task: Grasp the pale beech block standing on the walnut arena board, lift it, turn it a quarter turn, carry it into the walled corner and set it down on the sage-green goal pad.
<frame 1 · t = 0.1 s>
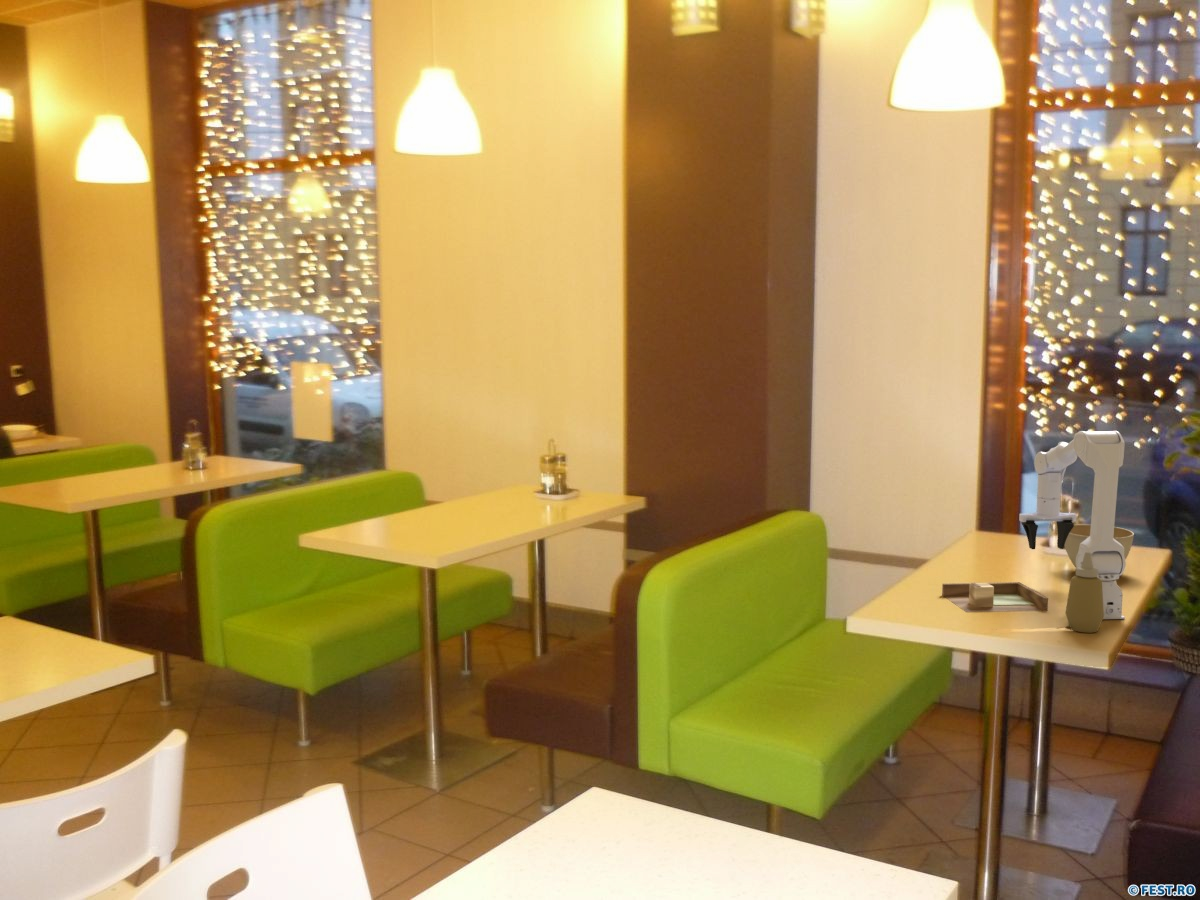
hand: (1046, 548, 298), 10 cm above the table, tool pointing down, fingers open, 7 cm apart
beige bowl: (1095, 574, 313), on the table
block: (980, 604, 277), point 1 cm above the table, touching arena
arena: (993, 605, 279), on the table
squeeze bottle: (1083, 630, 258), on the table
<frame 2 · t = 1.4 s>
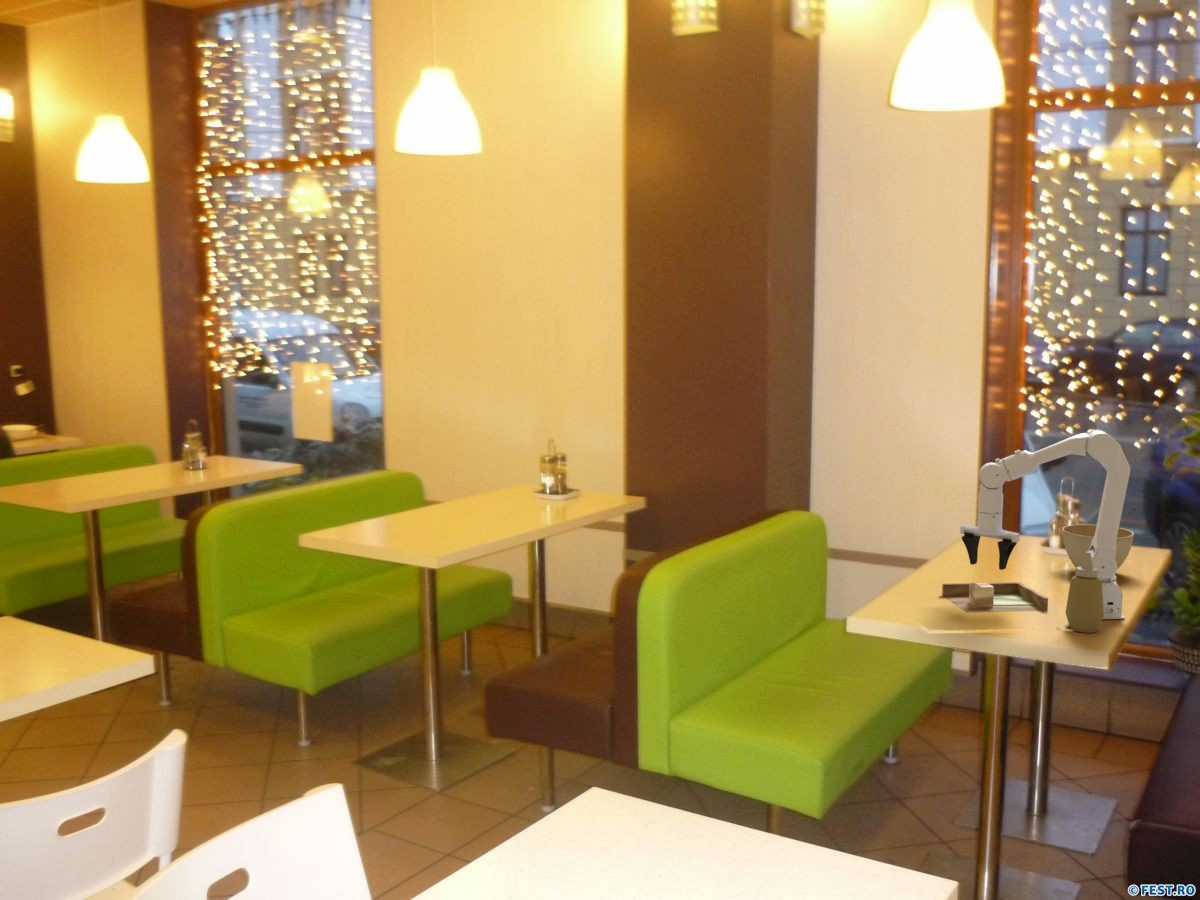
hand: (987, 566, 278), 10 cm above the table, tool pointing down, fingers open, 7 cm apart
nothing on the table moved.
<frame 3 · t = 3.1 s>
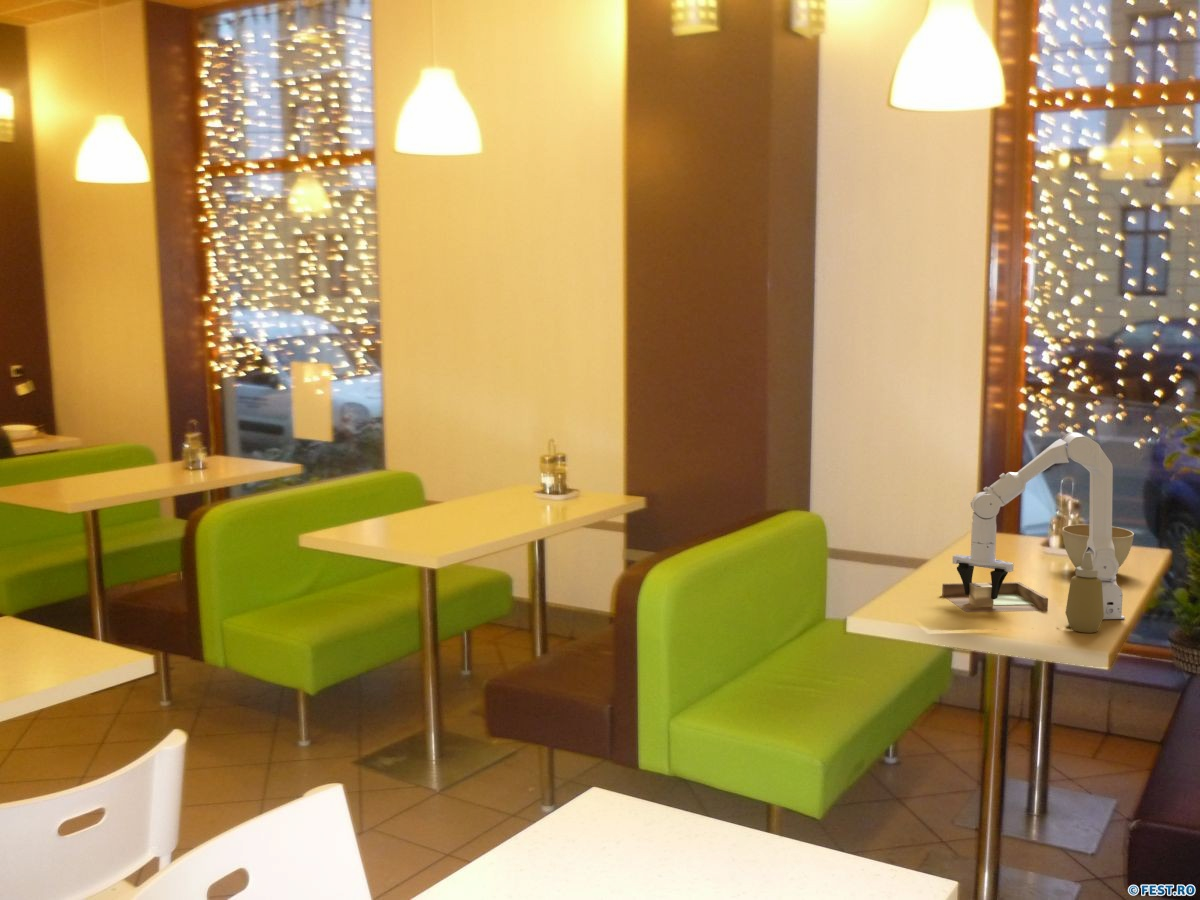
hand: (981, 596, 277), 3 cm above the table, tool pointing down, fingers closed on block, 6 cm apart
block: (980, 604, 277), point 1 cm above the table, touching arena, gripper
everything else where it was.
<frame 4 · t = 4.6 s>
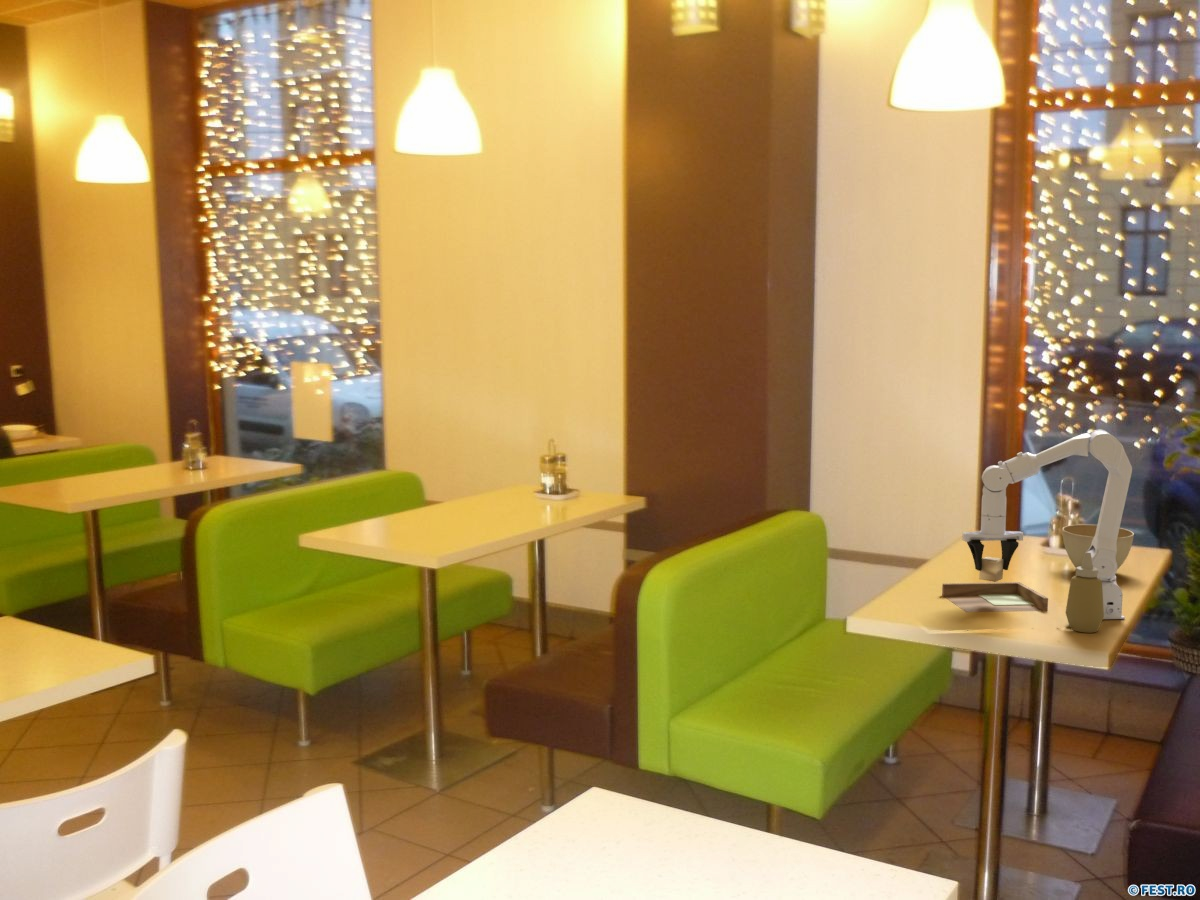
hand: (991, 569, 278), 9 cm above the table, tool pointing down, fingers closed on block, 6 cm apart
block: (990, 579, 278), point 7 cm above the table, touching gripper
everything else where it was.
when the fingers open (4 cm above the table, at t = 6.4 s): block stays where it is, resting on arena.
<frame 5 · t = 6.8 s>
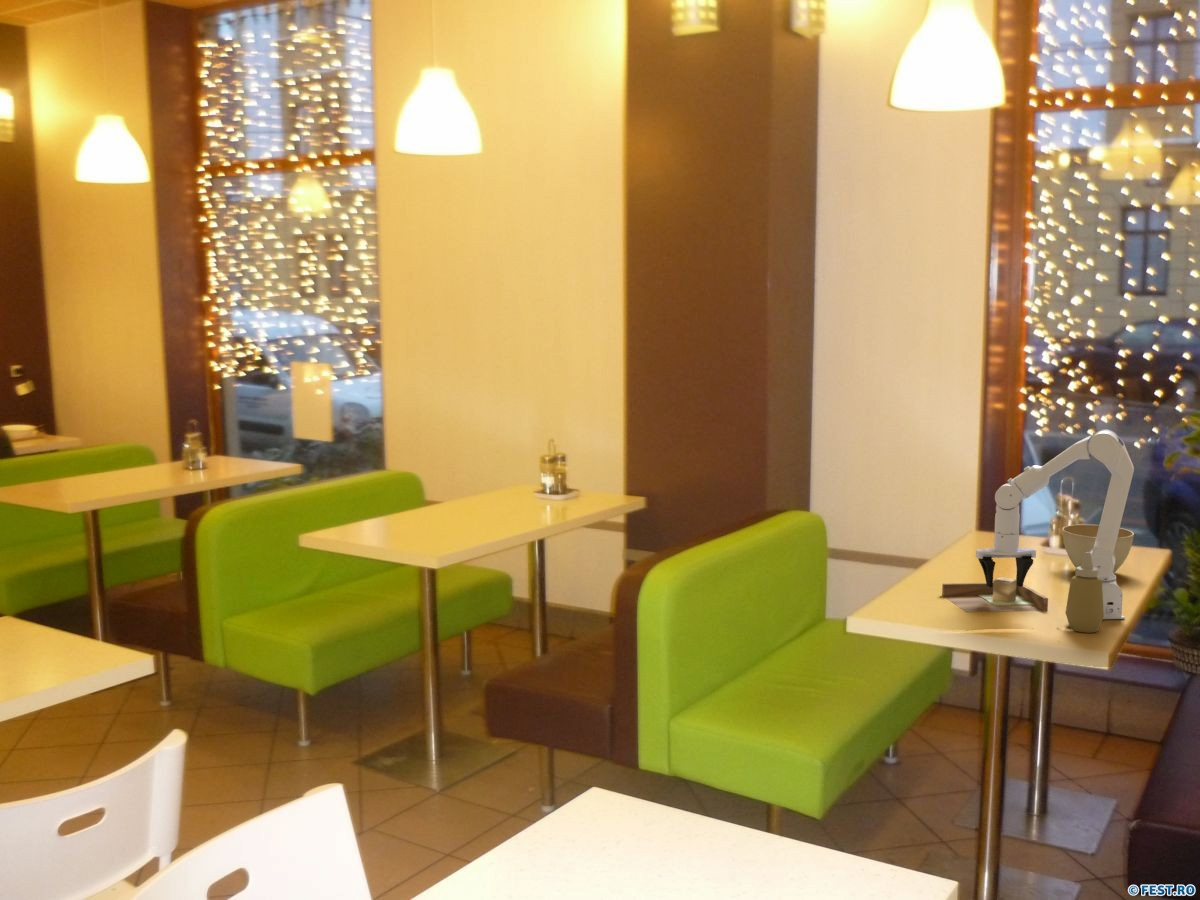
hand: (1004, 586, 281), 4 cm above the table, tool pointing down, fingers open, 7 cm apart
block: (1004, 599, 281), point 1 cm above the table, touching arena
everything else where it was.
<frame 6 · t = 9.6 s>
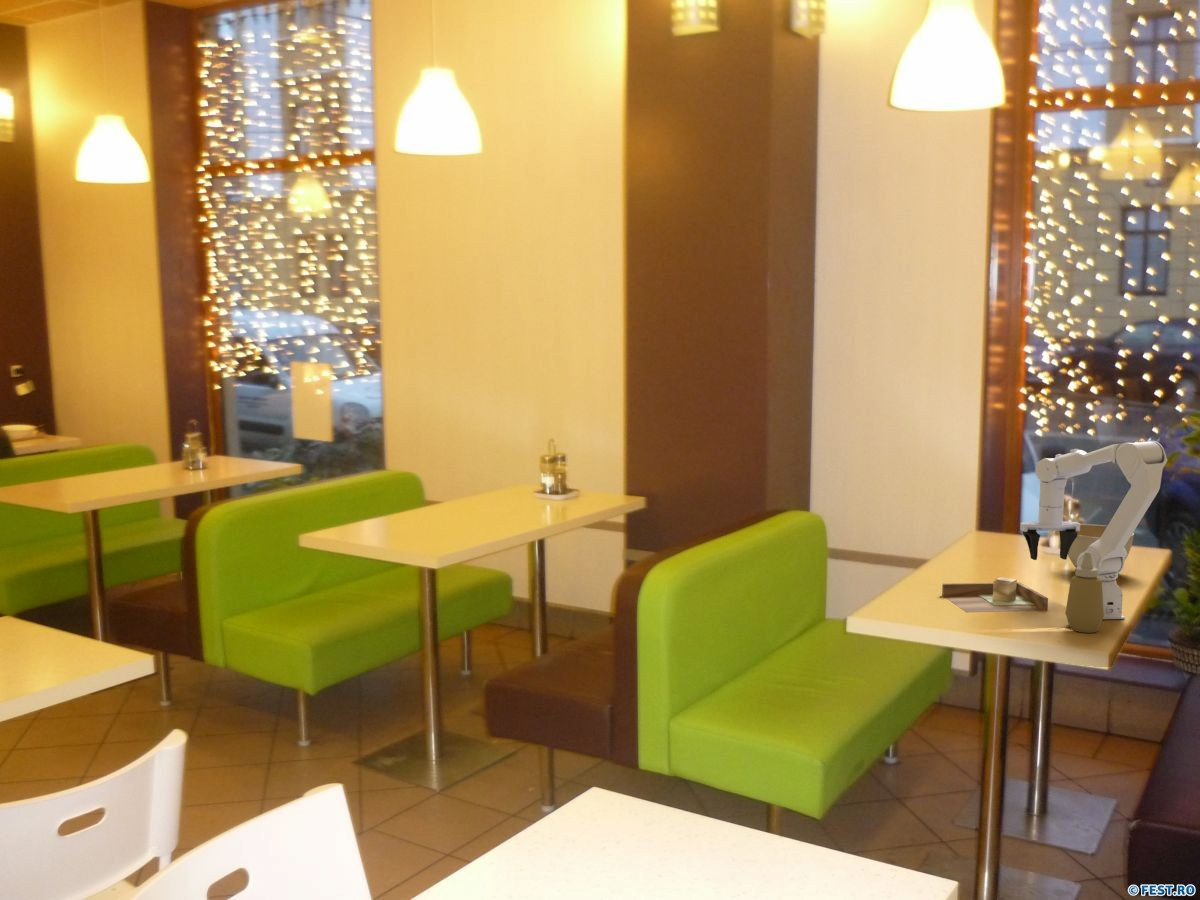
hand: (1048, 558, 284), 10 cm above the table, tool pointing down, fingers open, 7 cm apart
nothing on the table moved.
at the end: block inside the target area on the arena (0.4 cm from its centre), point 1.0 cm above the arena's base; block tilted 0°; the gripper is holding nothing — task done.
